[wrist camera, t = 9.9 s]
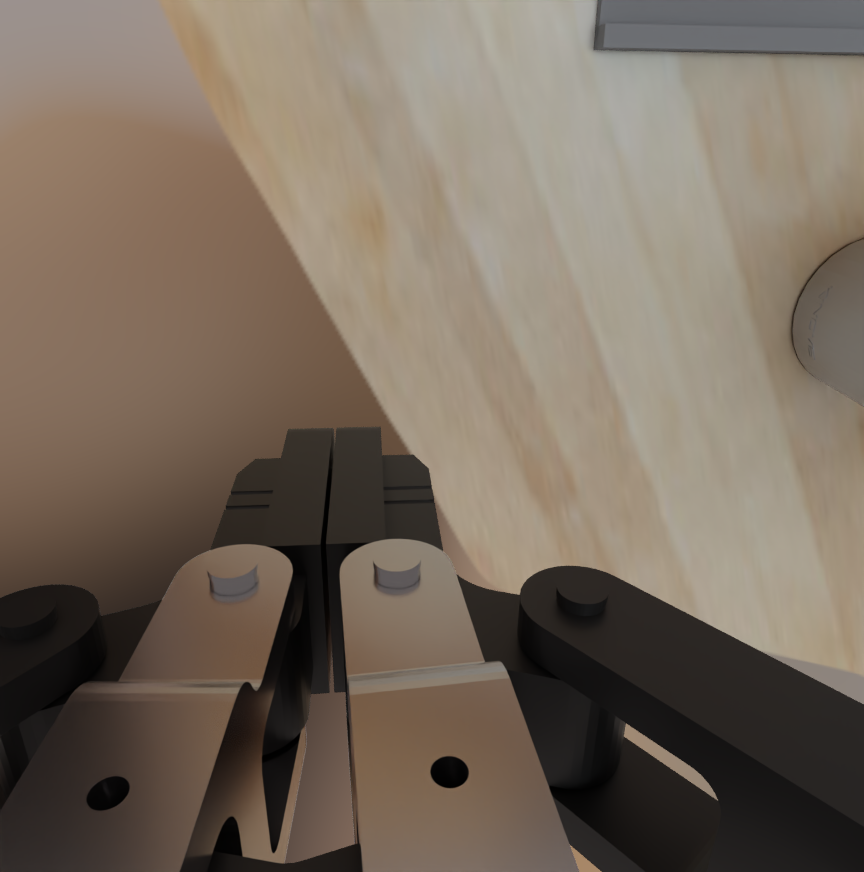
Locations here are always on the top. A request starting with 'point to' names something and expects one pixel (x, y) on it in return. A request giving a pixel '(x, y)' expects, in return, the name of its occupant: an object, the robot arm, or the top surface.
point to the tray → (732, 26)
